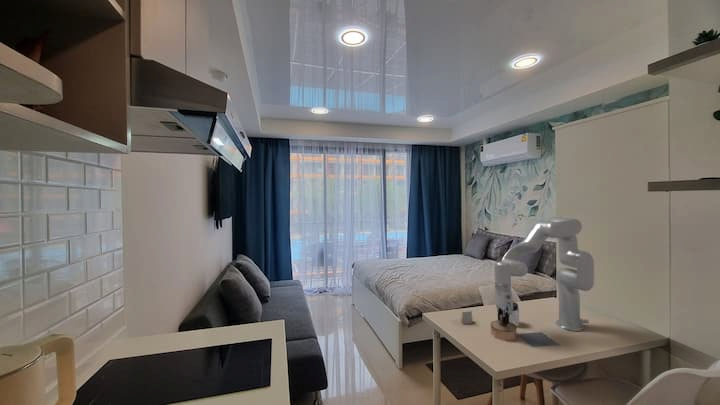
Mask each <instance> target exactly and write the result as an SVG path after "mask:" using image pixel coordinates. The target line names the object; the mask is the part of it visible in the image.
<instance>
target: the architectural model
mask: <svg viewBox="0 0 720 405" xmlns="http://www.w3.org/2000/svg"><path fill="white" fill-rule="evenodd" d="M472 313H473V312H472V311H468V310H465V311H462V312H461V315H460V316H459V318H460V323H462V324H461V325H472V324H473V319H474V316H473V314H472Z"/></svg>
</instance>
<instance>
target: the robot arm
mask: <svg viewBox="0 0 720 405" xmlns="http://www.w3.org/2000/svg"><path fill="white" fill-rule="evenodd" d="M582 228H583V225H582V222H581V221H580V220H579V219H577V218H573V217H561V216H560V217H557V216H555V217H550V218H548V219H547V220H538V221H536V222H534V224H533V225H532V227H531V228H530V230H529V231H528V232H527V234H526V236H525V237H524V238H523V240H522V241H521V242H519V243H517V244H515V245H514V246H513V247H511V248H509V249H508V250H507V251H506V253H505V254H504V255H503V257H502V258H501V260H500V261H496V262H494V266H493V267H494V268H493V269H494V304H495V306H496V311H497V320H500V314H503V316H502V323H503V324H509V316H510V314H512V312H511V310H513V302H514V301H513V293H512V278H511V277H519V278H520V277H525V275H527V273H528V271H529V267H528V266H527V264H526V263H524V262H523V261H519V259H520V258H521V257H523V256H525V255H529V254H533V253H536V252H539V250H540V249H541V248H542V246H543V244H544V243H545V242H546V240H547V239H548V238H551V239H557V241H558V259H559V262H560V264H561V265H564V266H566V267H562V268H559V269H558V270H557V271H556V274H555V278H556V282H557V287H558V320H556V321H555V325H556V326H557V327H560V328H562V329H563V330H566V331H571V332H581V331H584V330H585V328H584V325H583V324H589V323H590V322H589V319H587V318H586V319H583V318H582V317H581V294H580V291H584V292H588V291H589V292H590V291H591V290H592V288H594V284H595V261H594V258H593V256H592V254H591V253H590V252H588V251H586V250H585V251H584V250H580V249H579V244H578V239H577V238H578V237H577V236H576V235H578V234H579V233H581V231H582ZM569 267H570V268H569ZM573 268H574V269H573ZM579 290H580V291H579ZM506 309H507V310H506ZM505 311H507V312H506V313H505Z"/></svg>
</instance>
